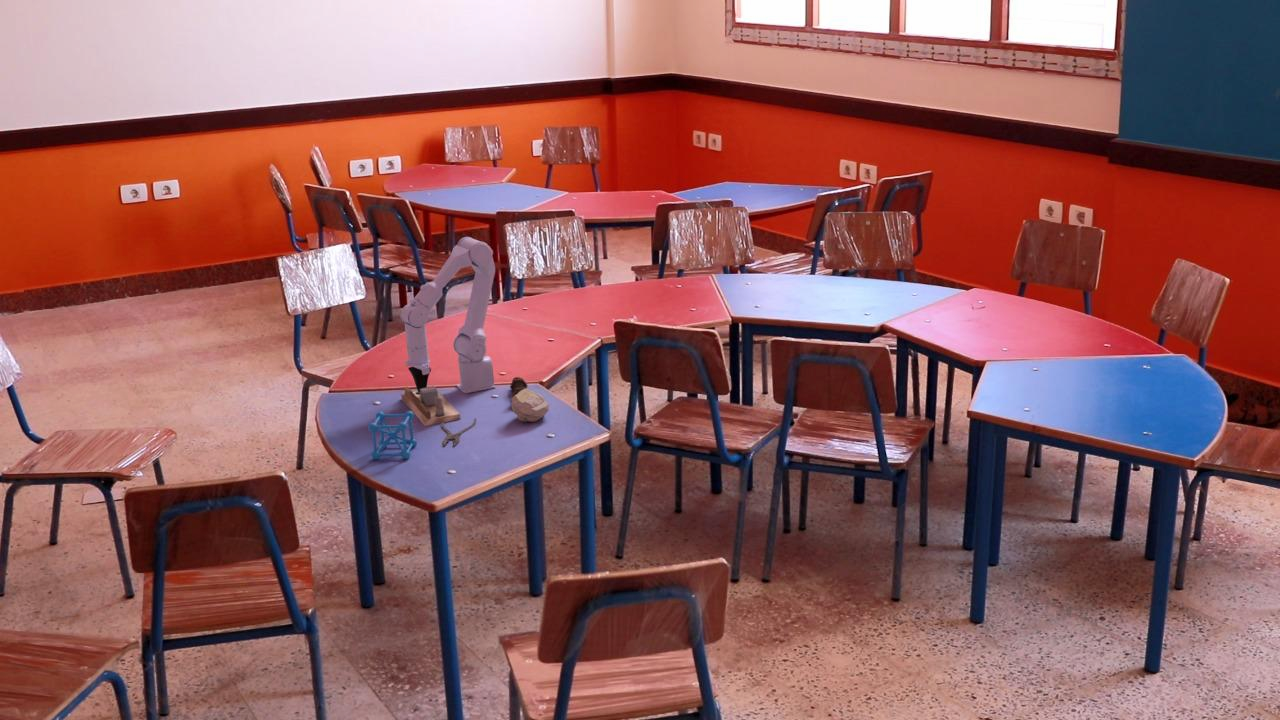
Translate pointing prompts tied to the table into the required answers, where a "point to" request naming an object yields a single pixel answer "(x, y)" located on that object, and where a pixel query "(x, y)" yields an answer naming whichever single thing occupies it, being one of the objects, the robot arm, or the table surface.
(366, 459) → the table surface
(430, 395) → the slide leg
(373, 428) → the molecular structure
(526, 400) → the beige rock
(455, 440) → the pliers
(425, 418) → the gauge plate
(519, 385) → the bolt
